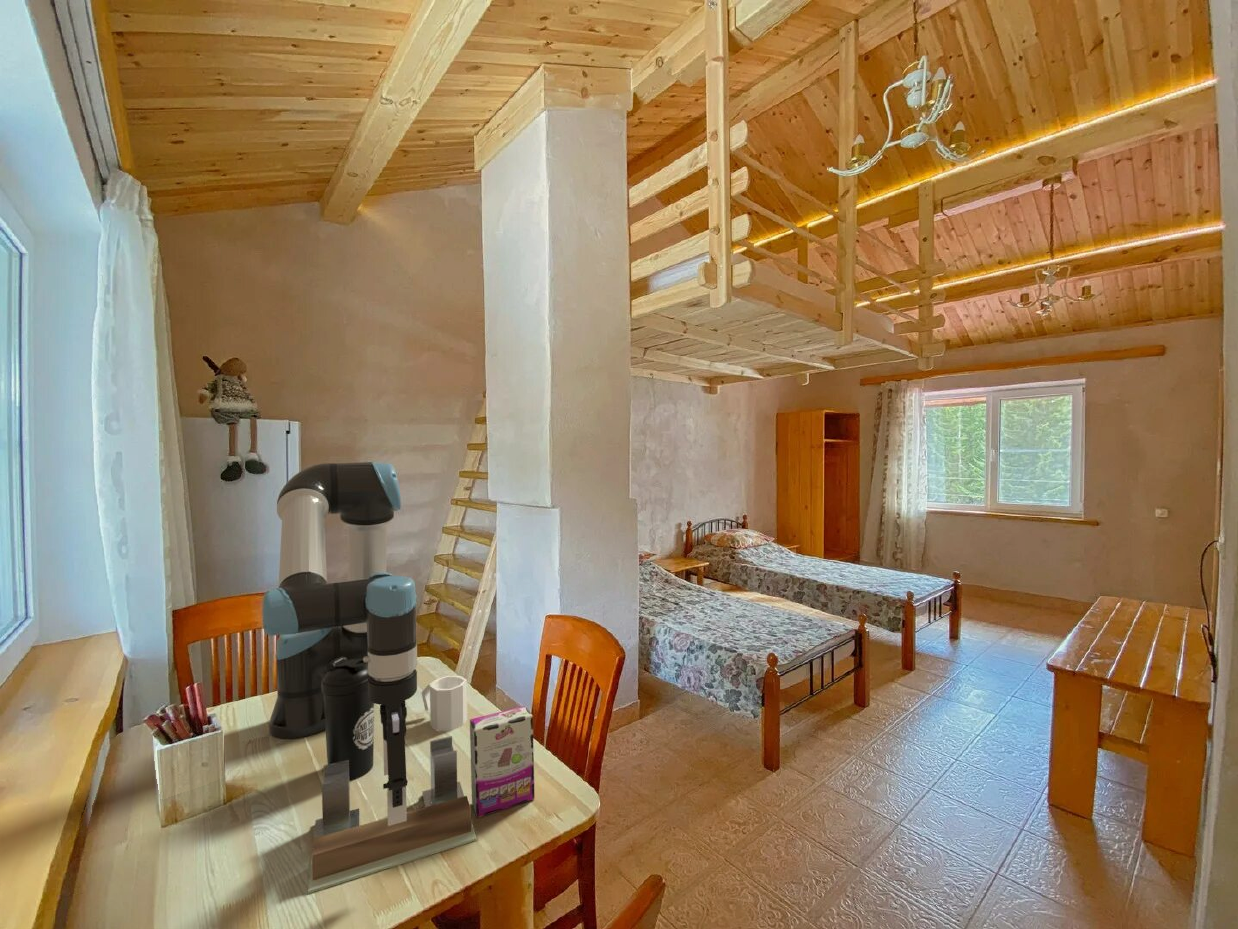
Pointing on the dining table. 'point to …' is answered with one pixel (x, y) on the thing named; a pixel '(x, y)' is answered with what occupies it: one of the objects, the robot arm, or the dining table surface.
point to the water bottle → (348, 715)
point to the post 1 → (336, 801)
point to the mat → (388, 862)
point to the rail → (389, 837)
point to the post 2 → (442, 773)
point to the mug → (446, 702)
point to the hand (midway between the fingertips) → (394, 795)
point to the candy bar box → (501, 760)
